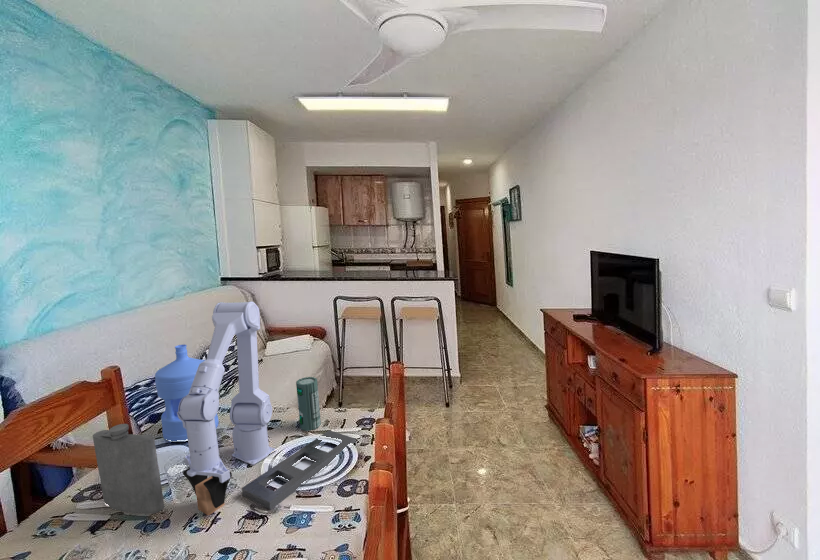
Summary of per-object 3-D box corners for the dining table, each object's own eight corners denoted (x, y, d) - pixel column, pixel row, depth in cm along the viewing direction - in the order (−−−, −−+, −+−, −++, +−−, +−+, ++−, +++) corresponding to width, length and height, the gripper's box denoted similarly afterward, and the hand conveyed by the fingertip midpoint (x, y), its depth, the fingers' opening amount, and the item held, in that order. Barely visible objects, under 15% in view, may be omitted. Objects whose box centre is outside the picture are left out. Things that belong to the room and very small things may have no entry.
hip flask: (167, 504, 95) (155, 424, 92) (152, 517, 91) (140, 434, 88) (113, 496, 99) (100, 419, 96) (97, 508, 95) (83, 428, 92)
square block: (198, 509, 93) (194, 485, 92) (214, 499, 96) (211, 476, 95) (208, 515, 91) (205, 491, 90) (224, 504, 94) (221, 481, 93)
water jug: (194, 416, 139) (184, 337, 135) (229, 422, 134) (220, 340, 129) (151, 440, 125) (138, 352, 121) (189, 448, 119) (176, 356, 115)
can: (306, 420, 133) (303, 376, 131) (323, 422, 131) (320, 377, 129) (297, 429, 127) (292, 384, 125) (314, 431, 125) (310, 385, 123)
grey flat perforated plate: (242, 495, 97) (241, 488, 97) (329, 436, 122) (329, 430, 122) (270, 509, 92) (269, 501, 91) (355, 444, 117) (355, 438, 117)
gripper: (167, 445, 92) (175, 500, 94) (205, 463, 84) (213, 522, 86) (198, 431, 98) (204, 483, 100) (235, 446, 90) (242, 502, 92)
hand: (210, 500), depth 93 cm, fingers open, 6 cm apart
